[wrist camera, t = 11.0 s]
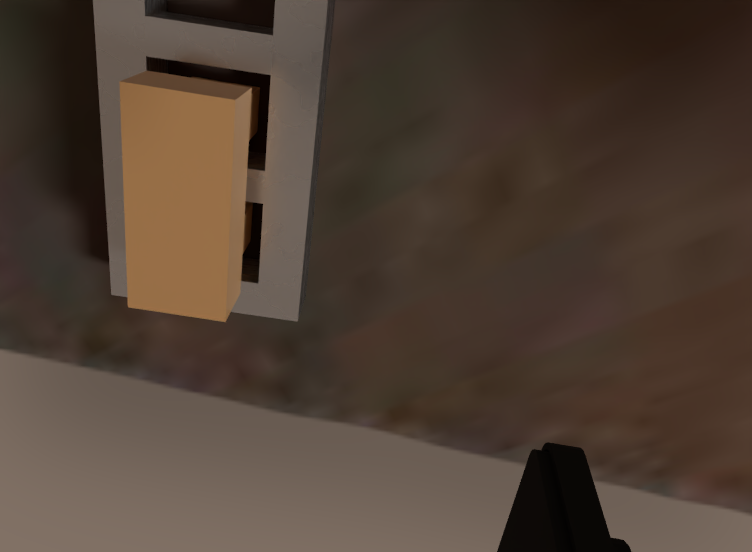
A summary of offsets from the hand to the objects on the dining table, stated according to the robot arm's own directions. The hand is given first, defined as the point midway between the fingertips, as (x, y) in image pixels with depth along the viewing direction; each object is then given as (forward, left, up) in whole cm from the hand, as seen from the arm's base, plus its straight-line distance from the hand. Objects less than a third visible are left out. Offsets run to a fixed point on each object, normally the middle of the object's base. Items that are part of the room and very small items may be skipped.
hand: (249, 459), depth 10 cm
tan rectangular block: (+6, +2, -20) cm, 21 cm away
